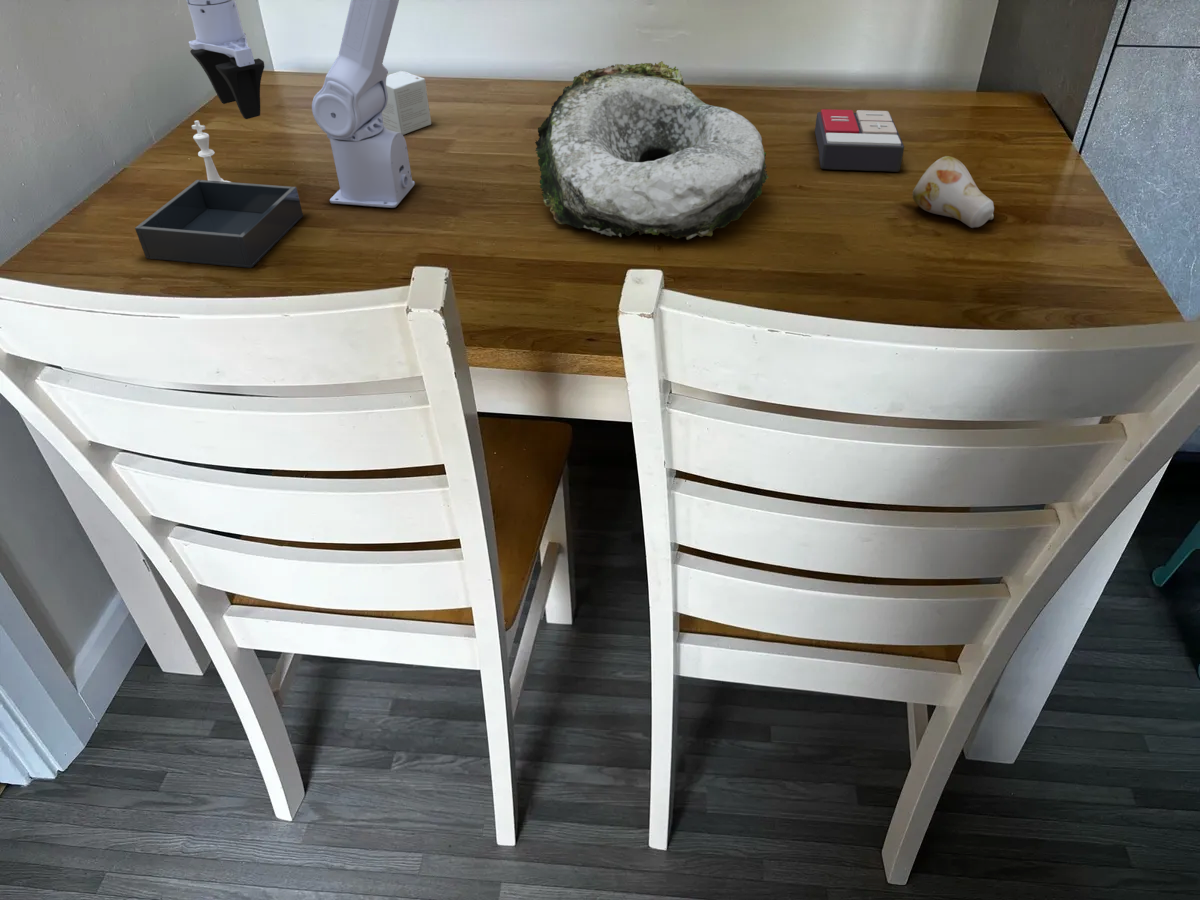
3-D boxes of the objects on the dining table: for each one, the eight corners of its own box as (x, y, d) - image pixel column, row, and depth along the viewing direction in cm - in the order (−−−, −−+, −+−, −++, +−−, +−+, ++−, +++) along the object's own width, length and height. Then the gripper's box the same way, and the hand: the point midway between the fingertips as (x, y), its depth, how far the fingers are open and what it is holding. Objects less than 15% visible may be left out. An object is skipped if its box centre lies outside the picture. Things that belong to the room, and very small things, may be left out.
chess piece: (225, 201, 124) (203, 128, 117) (192, 198, 125) (169, 126, 118) (243, 186, 127) (223, 115, 121) (211, 184, 128) (189, 113, 122)
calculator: (891, 108, 137) (906, 141, 125) (886, 137, 139) (900, 172, 127) (817, 106, 138) (825, 139, 126) (813, 134, 140) (820, 169, 128)
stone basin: (641, 88, 134) (665, -2, 121) (781, 221, 127) (823, 140, 114) (484, 164, 122) (493, 73, 108) (629, 316, 114) (657, 238, 101)
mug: (975, 243, 112) (950, 168, 108) (918, 245, 120) (893, 176, 117) (1016, 213, 114) (992, 138, 110) (957, 217, 122) (933, 149, 119)
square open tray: (303, 216, 120) (296, 186, 117) (251, 268, 109) (242, 237, 107) (206, 208, 122) (196, 179, 120) (146, 258, 112) (134, 227, 109)
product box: (409, 116, 148) (402, 69, 143) (432, 125, 144) (426, 78, 139) (378, 126, 144) (370, 79, 139) (401, 136, 141) (393, 88, 136)
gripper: (158, -6, 115) (191, 102, 124) (200, 17, 107) (232, 131, 115) (212, -16, 119) (241, 90, 128) (257, 6, 110) (284, 118, 119)
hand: (240, 109), depth 122 cm, fingers open, 7 cm apart
